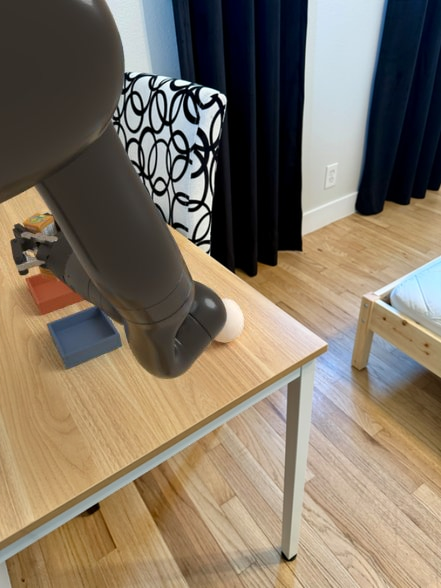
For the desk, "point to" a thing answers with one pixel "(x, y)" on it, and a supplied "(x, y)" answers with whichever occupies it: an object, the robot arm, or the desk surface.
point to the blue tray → (84, 336)
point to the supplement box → (46, 227)
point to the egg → (231, 322)
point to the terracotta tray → (50, 294)
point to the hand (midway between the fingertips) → (32, 224)
